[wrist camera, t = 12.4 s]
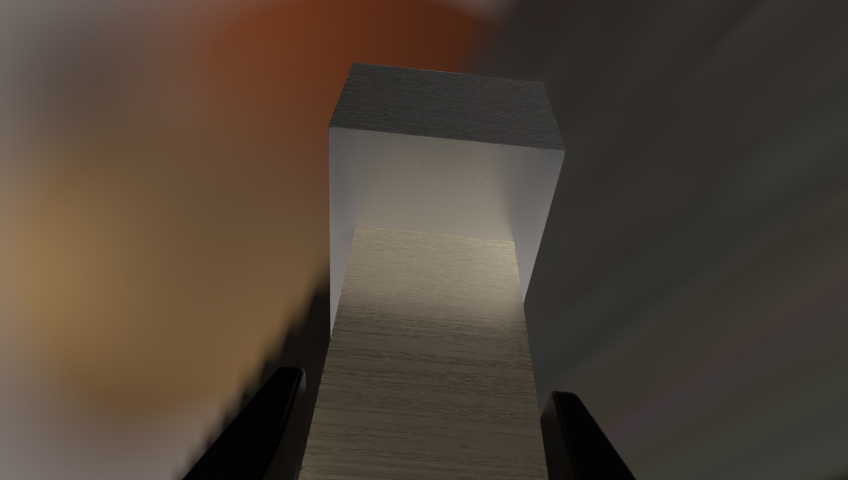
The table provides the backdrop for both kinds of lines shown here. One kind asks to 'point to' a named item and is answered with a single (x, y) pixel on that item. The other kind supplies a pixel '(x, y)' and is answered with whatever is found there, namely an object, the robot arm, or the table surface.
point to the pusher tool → (433, 277)
